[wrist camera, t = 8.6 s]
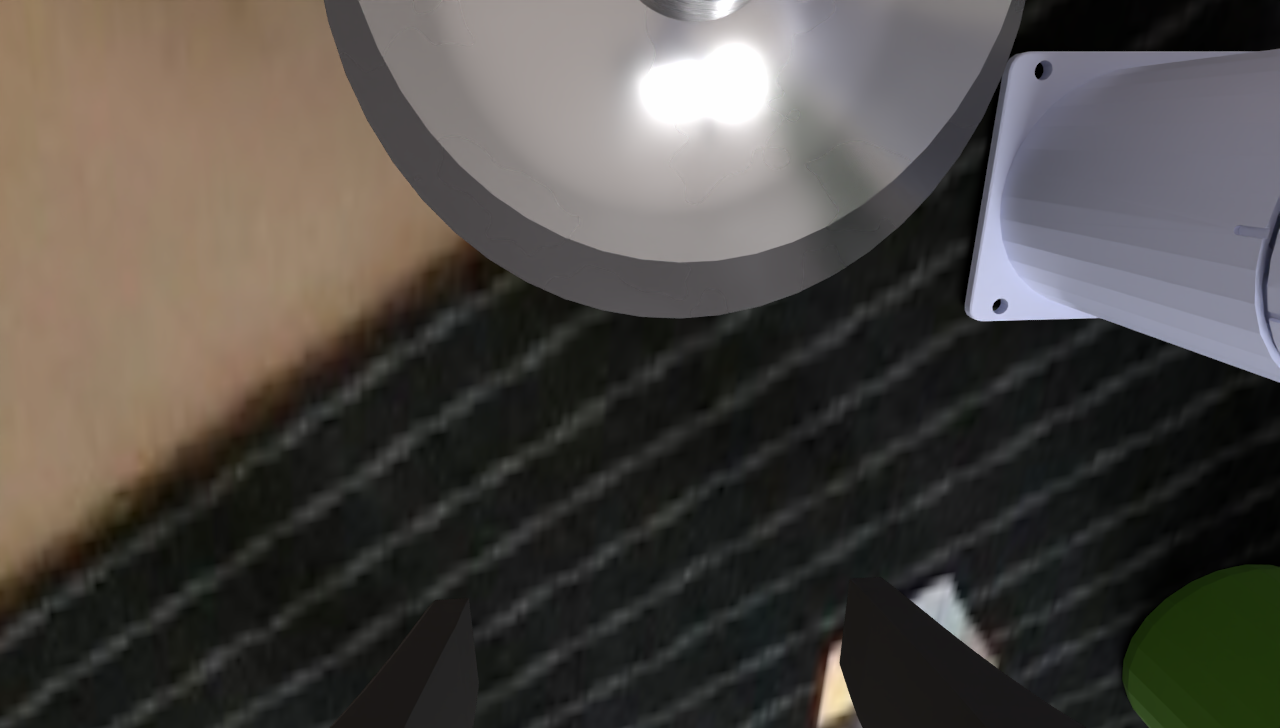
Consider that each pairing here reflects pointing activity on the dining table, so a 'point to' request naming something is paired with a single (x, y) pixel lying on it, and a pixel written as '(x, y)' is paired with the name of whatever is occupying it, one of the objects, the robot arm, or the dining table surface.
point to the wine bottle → (1210, 654)
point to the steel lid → (684, 108)
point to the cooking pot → (622, 277)
